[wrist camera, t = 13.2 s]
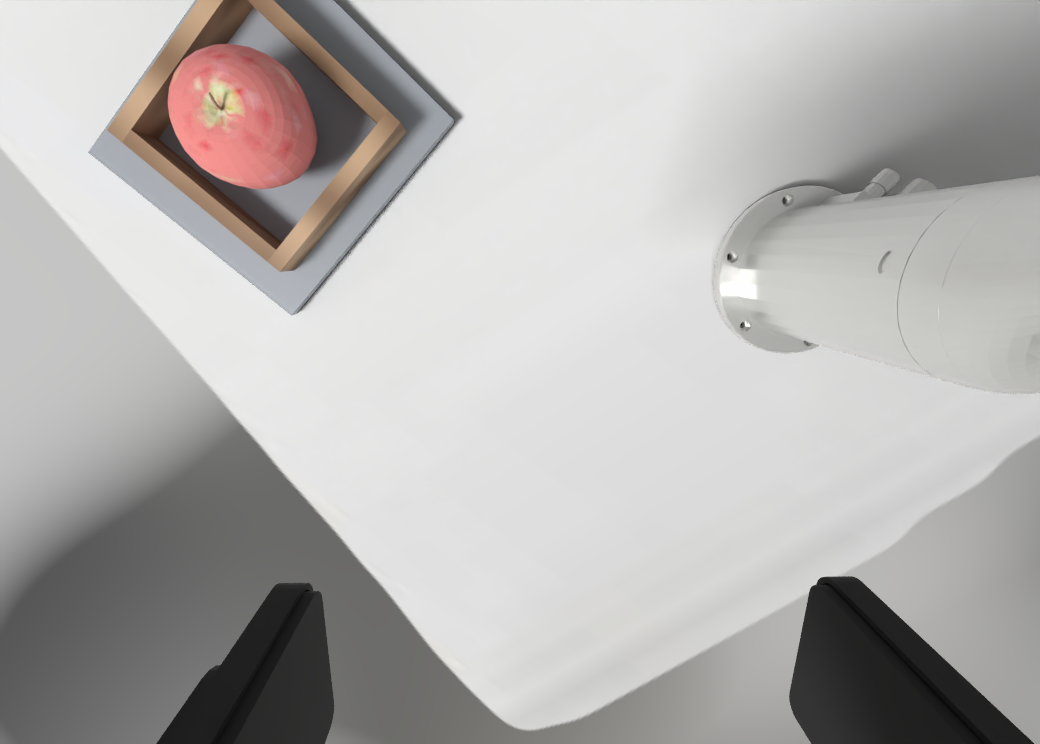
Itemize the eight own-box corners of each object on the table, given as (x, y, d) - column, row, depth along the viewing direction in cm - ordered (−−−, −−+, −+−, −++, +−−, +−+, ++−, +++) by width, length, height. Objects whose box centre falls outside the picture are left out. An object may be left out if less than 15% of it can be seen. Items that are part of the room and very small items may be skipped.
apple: (207, 77, 31) (113, 20, 23) (322, 72, 31) (268, 14, 23) (231, 199, 33) (152, 183, 25) (340, 193, 33) (295, 175, 25)
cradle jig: (259, -70, 30) (230, -111, 27) (454, 123, 33) (450, 108, 30) (100, 155, 32) (55, 144, 29) (296, 313, 36) (276, 320, 32)
